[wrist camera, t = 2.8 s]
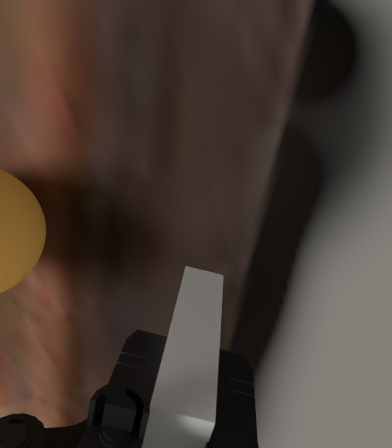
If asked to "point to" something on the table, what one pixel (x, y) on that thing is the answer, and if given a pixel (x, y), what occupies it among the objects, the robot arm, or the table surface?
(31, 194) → the ball
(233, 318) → the table surface
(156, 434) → the robot arm
